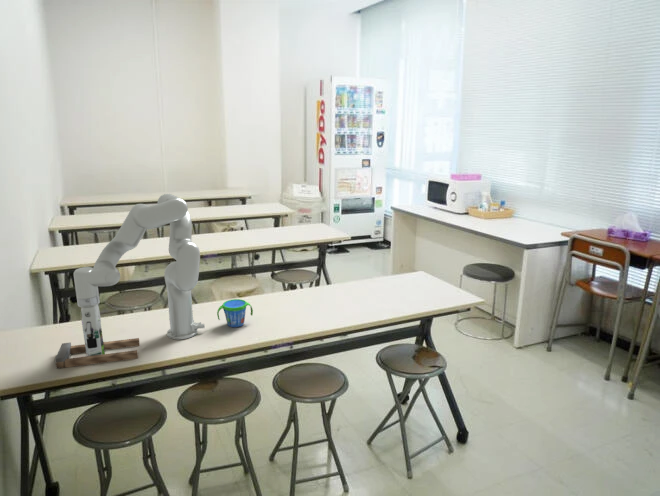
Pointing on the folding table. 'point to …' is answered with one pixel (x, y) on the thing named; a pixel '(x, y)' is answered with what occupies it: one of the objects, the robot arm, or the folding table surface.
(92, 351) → the syrup box
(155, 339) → the folding table surface
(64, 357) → the guide channel
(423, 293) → the folding table surface
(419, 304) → the folding table surface
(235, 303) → the snack cup
